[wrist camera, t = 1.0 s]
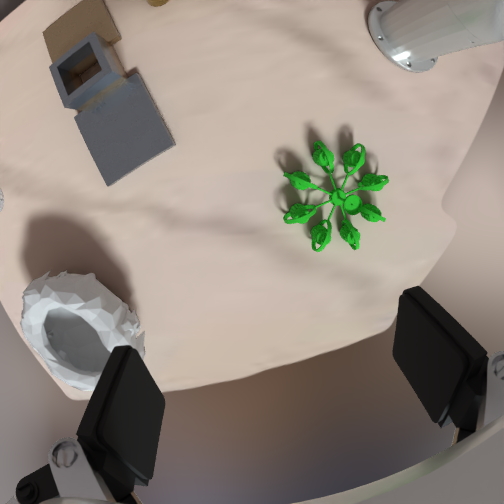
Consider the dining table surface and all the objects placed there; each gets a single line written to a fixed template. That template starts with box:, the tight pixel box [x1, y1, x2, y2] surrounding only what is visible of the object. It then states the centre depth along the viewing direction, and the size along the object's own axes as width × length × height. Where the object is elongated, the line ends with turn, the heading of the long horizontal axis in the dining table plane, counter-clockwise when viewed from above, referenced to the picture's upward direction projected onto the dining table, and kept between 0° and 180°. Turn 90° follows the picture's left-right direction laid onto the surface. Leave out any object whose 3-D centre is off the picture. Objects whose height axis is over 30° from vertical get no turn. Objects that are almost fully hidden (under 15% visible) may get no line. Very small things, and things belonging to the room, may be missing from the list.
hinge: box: [43, 0, 176, 186], centre depth 24 cm, size 10×29×6 cm, turn 26°
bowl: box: [20, 269, 145, 391], centre depth 35 cm, size 21×20×10 cm
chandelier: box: [283, 141, 389, 252], centre depth 32 cm, size 15×15×7 cm
